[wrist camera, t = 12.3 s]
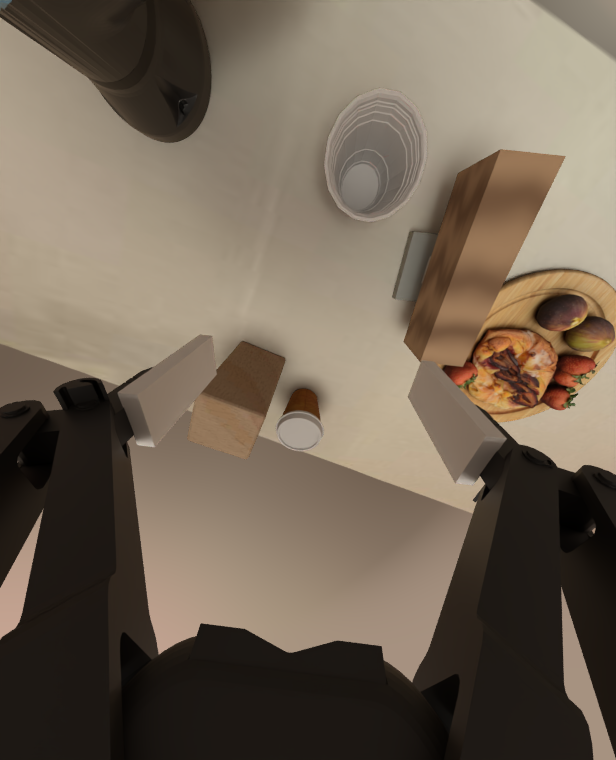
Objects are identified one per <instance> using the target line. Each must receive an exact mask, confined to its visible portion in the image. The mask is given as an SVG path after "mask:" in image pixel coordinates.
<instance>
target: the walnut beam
mask: <svg viewBox="0 0 616 760" xmlns="http://www.w3.org/2000/svg"><path fill="white" fill-rule="evenodd" d="M564 159H565V156H558V155H549V154H539V153H530V152H520V151H511V150H502V149H501V150H499V151H497V152H495V153H493V154H492V155H490V156H488V157H486V158H484V159H483V160H481V161H479V162H477V163H475V164H474V165H472V166H470V167H468V168H466V169H465V170H463V171H461V172H459V173H458V175H457V178H456V181H455V184H454V187H453V190H452V193H451V197H450V200H449V203H448V206H447V209H446V212H445V215H444V218H443V221H442V224H441V228H440V231H439V234H438V237H437V240H436V243H435V246H434V249H433V252H432V255H431V258H430V262H429V265H428V268H427V271H426V274H425V277H424V280H423V283H422V286H421V289H420V293H419V296H418V299H417V302H416V305H415V308H414V311H413V314H412V317H411V320H410V323H409V327H408V330H407V333H406V336H405V339H404V343H405V344H406V345H407V346H408V348H409V349H410V350H411V351H412V353H413V354H414V355H415V356H416V357H417V359H418V360H419V361H420V362H421V361H422V360H425V361H433V362H435V363H436V364H442V365H451V366H460V367H463V365H464V363H465V361H466V359H467V357H468V355H469V353H470V351H471V349H472V347H473V345H474V343H475V341H476V339H477V337H478V335H479V332H480V330H481V328H482V326H483V324H484V322H485V320H486V318H487V316H488V314H489V312H490V310H491V308H492V306H493V304H494V302H495V300H496V298H497V296H498V294H499V292H500V289H501V287H502V285H503V283H504V281H505V279H506V277H507V275H508V273H509V271H510V269H511V267H512V265H513V263H514V261H515V259H516V257H517V255H518V253H519V251H520V249H521V247H522V244H523V242H524V240H525V238H526V236H527V234H528V232H529V230H530V228H531V226H532V224H533V222H534V220H535V218H536V216H537V214H538V212H539V210H540V208H541V206H542V204H543V201H544V199H545V197H546V195H547V193H548V191H549V189H550V187H551V185H552V183H553V181H554V179H555V177H556V175H557V173H558V171H559V169H560V167H561V165H562V163H563V161H564Z"/></svg>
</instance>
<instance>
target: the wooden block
mask: <svg viewBox="0 0 616 760" xmlns="http://www.w3.org/2000/svg"><path fill="white" fill-rule="evenodd" d="M284 363H285V359H284V358H282V357H280V356H278V355H275V354H273V353H270V352H268V351H265V350H263V349H260V348H258V347H255V346H253V345H250V344H248V343H245V342H241V343H240V344H239V345H238V346H237V347H236V349H235V350H234V351H233V352H232V353H231V354H230V355H229V356H228V358H227V359H226V360H225V361H224V362H223V363H222V364H221V366H220V367H219V368H218V369H217V370H216V372H217V375H216V376H215V377H214V378H213V379H212V381H211V382H210V383H209V384H208V385H207V387H206V388H205V389H204V390H203V391H202V392H201V394H200V395H199V396H198V397H197V398H196V399H195V402H194V407H193V412H192V417H191V422H190V427H189V432H188V438H187V439H188V440H189V441H192V442H194V443H198V444H201V445H203V446H207V447H210V448H212V449H216V450H219V451H222V452H225V453H228V454H231V455H234V456H237V457H240V458H243V459H247V458H248V457H249V455H250V453H251V451H252V448H253V446H254V443H255V441H256V439H257V436H258V434H259V432H260V429H261V427H262V424H263V422H264V420H265V417H266V414H267V412H268V409H269V406H270V403H271V400H272V397H273V395H274V392H275V389H276V386H277V383H278V380H279V377H280V375H281V372H282V369H283V366H284Z"/></svg>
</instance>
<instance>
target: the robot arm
mask: <svg viewBox="0 0 616 760" xmlns="http://www.w3.org/2000/svg"><path fill="white" fill-rule="evenodd" d="M0 17H1V18H2V19H3V20H5V21H6V22H8V23H9V24H11V25H12V26H14V27H15V28H17V29H18V30H19V31H21V32H22V33H24V34H25V35H27V36H28V37H30V38H31V39H33V40H34V41H35V42H37V43H38V44H40V45H41V46H43V47H44V48H46V49H47V50H49V51H50V52H51V53H53V54H54V55H56V56H57V57H59V58H60V59H62V60H63V61H65V62H66V63H68V64H69V65H70V66H72V67H73V68H75V69H76V70H78V71H79V72H81V73H82V74H84V75H85V76H86V77H88V78H89V79H90V80H91V82H92V83H93V84H94V85H95V86H96V88H97V89H98V90H99V91H100V93H101V94H102V96H103V97H104V99H105V100H106V101H107V102H108V104H109V105H110V106H111V107H112V109H113V110H114V111H115V112H116V113H117V114H118V115H119V116H120V117H121V118H122V119H123V120H124V121H125V122H127V123H128V124H129V125H130V126H132V127H133V128H135V129H136V130H138V131H139V132H141V133H143V134H144V135H146V136H148V137H150V138H152V139H154V140H157V141H161V142H177V141H180V140H183V139H185V138H187V137H188V136H189V135H191V134H192V133H193V132H194V131H195V130H196V129H197V127H198V126H199V124H200V123H201V121H202V119H203V117H204V115H205V112H206V109H207V106H208V102H209V97H210V89H211V66H210V57H209V51H208V46H207V42H206V38H205V35H204V31H203V28H202V25H201V23H200V20H199V18H198V15H197V13H196V11H195V9H194V7H193V5H192V3H191V1H190V0H0ZM216 375H217V372H216V363H215V355H214V347H213V338H212V336H208V335H199V336H197V337H196V338H195V339H193V340H192V341H190V342H189V343H187V344H186V345H185V346H183V347H182V348H180V349H179V350H177V351H176V352H175V353H173V354H172V355H170V356H169V357H167V358H166V359H165V360H163V361H162V362H160V363H159V364H157V365H156V366H155V367H153V368H152V367H151V368H149V369H146V370H143V371H141V372H139V373H138V374H136V375H135V376H133V378H130V379H129V380H127V381H126V383H123V384H122V385H120V386H119V387H117V388H116V389H114V390H113V391H111V392H110V393H108V394H107V392H106V390H105V388H104V385H103V383H102V381H101V380H99V379H97V378H82V379H77V380H73V381H69V382H67V383H64V384H62V385H60V386H59V387H57V388H56V389H55V390H54V394H55V396H56V397H57V399H58V401H59V402H60V405H61V406H62V408H63V410H53V411H46V410H45V408H44V406H43V405H42V403H41V402H40V401H35V400H29V401H21V402H14V403H12V404H7V405H5V406H3V407H1V408H0V587H1V585H2V584H3V582H4V580H5V578H6V576H7V574H8V573H9V571H10V569H11V567H12V565H13V563H14V562H15V560H16V558H17V556H18V554H19V552H20V550H21V549H22V547H23V545H24V543H25V541H26V539H27V538H28V536H29V534H30V532H31V530H32V528H33V527H34V524H35V523H36V521H37V519H38V517H39V515H40V513H41V512H42V510H43V514H42V519H41V524H40V529H39V534H38V539H37V544H36V549H35V553H34V559H33V563H32V568H31V573H30V578H29V583H28V588H27V592H26V598H25V602H24V607H23V613H22V616H21V619H20V622H19V623H18V625H17V627H16V628H15V629H14V630H12V631H11V632H9V633H8V634H6V635H5V636H3V637H2V638H1V640H0V760H593V749H592V741H591V736H590V731H589V726H588V724H587V721H586V719H585V717H584V715H583V713H582V711H581V710H580V709H579V708H578V707H577V706H576V705H575V704H574V703H573V702H572V701H571V700H569V698H568V696H567V694H566V692H565V687H564V673H563V637H562V602H561V587H562V590H563V593H564V596H565V599H566V602H567V605H568V609H569V612H570V615H571V618H572V621H573V624H574V628H575V631H576V634H577V637H578V640H579V643H580V647H581V649H582V653H583V656H584V659H585V662H586V666H587V669H588V672H589V675H590V678H591V681H592V684H593V688H594V691H595V694H596V697H597V700H598V703H599V707H600V710H601V713H602V716H603V719H604V722H605V725H606V729H607V732H608V735H609V738H610V741H611V744H612V748H613V751H614V754H615V757H616V475H615V474H613V473H611V472H609V471H606V470H603V469H601V468H598V467H595V466H591V465H584V466H582V467H581V468H580V469H579V470H578V471H577V472H576V473H574V472H570V471H567V470H564V469H561V468H558V467H557V466H556V464H555V463H554V462H553V461H552V460H551V459H550V458H549V457H548V456H546V455H545V454H543V453H542V452H540V451H538V450H536V449H534V448H531V447H528V446H524V445H519V444H518V443H517V442H516V441H515V440H514V439H513V438H512V437H511V436H510V435H509V434H508V433H507V432H506V431H505V430H504V429H503V428H502V427H501V426H499V424H498V423H497V422H496V420H494V418H493V417H492V416H491V415H490V414H489V413H488V412H487V411H485V410H484V409H482V408H481V407H479V406H478V405H475V404H474V403H473V402H472V401H471V400H470V399H469V398H468V397H467V396H466V395H465V394H464V393H463V392H462V391H461V390H460V388H459V387H458V386H457V385H456V384H455V383H454V382H453V381H452V380H451V379H450V378H449V377H448V376H447V375H446V374H445V373H444V372H443V370H442V369H441V368H440V367H439V366H438V365H437V364H436V363H435V362H433V361H425V360H422V361H421V364H420V366H419V369H418V371H417V374H416V377H415V379H414V382H413V385H412V387H411V390H410V392H409V395H408V398H409V400H410V402H411V403H412V405H413V407H414V409H415V411H416V413H417V414H418V416H419V418H420V420H421V422H422V423H423V425H424V427H425V429H426V431H427V433H428V434H429V436H430V438H431V440H432V442H433V444H434V445H435V447H436V449H437V451H438V453H439V454H440V456H441V458H442V460H443V462H444V464H445V465H446V467H447V469H448V471H449V473H450V475H451V476H452V478H453V480H454V482H455V483H458V484H466V485H474V483H475V482H476V481H477V479H478V478H479V476H481V478H482V479H483V481H484V482H485V485H484V486H483V488H482V489H481V490H480V491H479V493H478V494H477V495H476V497H475V498H474V499H473V501H474V502H476V501H477V503H476V506H475V509H474V513H473V516H472V519H471V522H470V525H469V528H468V531H467V534H466V537H465V540H464V543H463V546H462V549H461V552H460V555H459V558H458V561H457V565H456V568H455V571H454V574H453V577H452V580H451V583H450V586H449V589H448V592H447V595H446V598H445V601H444V604H443V607H442V610H441V613H440V617H439V620H438V623H437V626H436V629H435V632H434V635H433V638H432V641H431V644H430V647H429V650H428V652H427V654H426V656H425V657H424V659H423V661H422V662H421V664H420V666H419V668H418V670H417V672H416V674H415V676H414V679H413V682H411V681H410V680H409V679H407V678H406V677H405V676H404V675H403V674H402V673H401V672H400V671H399V670H397V669H396V668H395V667H393V666H392V665H390V664H389V663H388V662H385V661H384V660H383V653H382V647H381V646H376V645H368V644H360V643H351V642H344V641H334V642H330V643H327V644H323V645H320V646H316V647H312V648H309V649H305V650H301V651H298V652H294V653H288V652H285V651H283V650H281V649H280V648H278V647H276V646H274V645H273V644H271V643H269V642H267V641H265V640H263V639H262V638H260V637H258V636H256V635H255V634H253V633H251V632H249V631H247V630H245V629H240V628H232V627H225V626H216V625H209V624H200V627H199V630H198V634H197V636H195V637H191V638H189V639H186V640H184V641H181V642H179V643H177V644H175V645H174V646H172V647H170V648H168V649H167V650H165V651H163V652H162V653H161V654H158V648H157V642H156V637H155V633H154V630H153V626H152V623H151V620H150V615H149V609H148V600H147V592H146V583H145V575H144V567H143V559H142V550H141V541H140V533H139V525H138V517H137V508H136V499H135V491H134V483H133V475H132V466H131V458H130V449H129V446H128V443H127V441H128V440H129V439H130V438H131V437H132V436H133V435H134V437H135V440H136V442H137V445H140V446H149V447H155V446H156V445H157V444H158V443H159V442H160V440H161V439H162V438H163V437H164V436H165V435H166V434H167V432H168V431H169V430H170V429H171V428H172V426H173V425H174V424H175V423H176V422H177V420H178V419H179V418H180V417H181V416H182V415H183V414H184V412H185V411H186V410H187V409H188V408H189V407H190V405H191V404H192V403H193V402H194V401H195V399H196V398H197V397H198V396H199V395H200V394H201V392H202V391H203V390H204V389H205V388H206V387H207V385H208V384H209V383H210V382H211V381H212V379H213V378H214V377H215V376H216ZM17 461H18V463H17ZM43 508H44V509H43ZM595 527H596V530H595V533H594V534H593V532H592V530H593V529H594V528H595Z"/></svg>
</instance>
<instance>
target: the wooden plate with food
mask: <svg viewBox="0 0 616 760" xmlns="http://www.w3.org/2000/svg"><path fill="white" fill-rule="evenodd" d="M615 347H616V291H615V290H614V288H613V287H612V286H611V285H609V284H608V283H607V282H606V281H604V280H603V279H601V278H599V277H598V276H595V275H593V274H590V273H587V272H584V271H579V270H570V269H557V270H547V271H541V272H536V273H532V274H528V275H524V276H521V277H519V278H516V279H514V280H512V281H509V282H507V283H505V284H503V285H502V287H501V289H500V292H499V294H498V296H497V298H496V300H495V302H494V304H493V306H492V308H491V310H490V312H489V314H488V316H487V318H486V320H485V322H484V324H483V326H482V328H481V330H480V332H479V335H478V337H477V339H476V341H475V343H474V345H473V347H472V349H471V351H470V353H469V355H468V357H467V359H466V361H465V363H464V365H463V367H460V366H451V365H442V364H437V365H438V366H439V367H440V368H441V369H442V370H443V372H444V373H445V374H446V375H447V376H448V377H449V378H450V379H451V380H452V381H453V382H454V383H455V384H456V385H457V386H458V387H459V388H460V390H461V391H462V392H463V393H464V394H465V395H466V396H467V397H468V398H469V399H470V400H471V401H472V402H473V403H474V404H475V405H478V406H479V407H481V408H482V409H484V410H485V411H487V412H488V413H489V414H490V415H491V416H492V417H493V418H494V420H496V422H507V421H513V420H518V419H522V418H525V417H529V416H532V415H535V414H537V413H540V412H543V411H545V410H547V409H549V408H553V409H556V410H564V409H566V408H567V407H568V408H569V409H570V407H569V406H571V405H572V406H575V403H570V402H571V401H572V400H573V398H575V397H576V396H577V395H578V393H577V394H575V395H573V394H574V393H576V392H577V391H578V390H580V389H581V388H582V387H583V386H584V385H586V384H587V383H588V382H589V381H590V380H591V379H592V378H593V377H594V376H595V375H596V374H597V373H598V371H599V370H600V369H601V368H602V367H603V366H604V364H605V363H606V362H607V360H608V359H609V357H610V356H611V354H612V353H613V351H614V349H615ZM571 397H572V398H571Z"/></svg>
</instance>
